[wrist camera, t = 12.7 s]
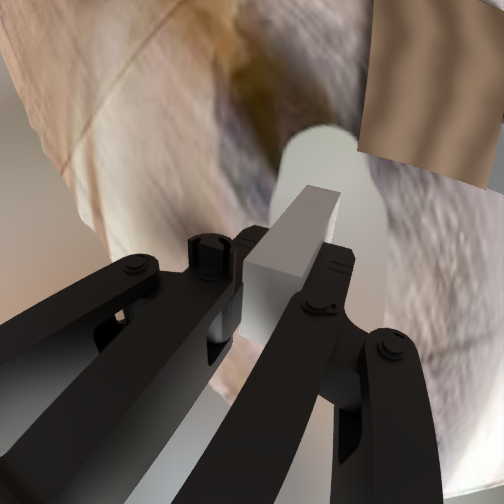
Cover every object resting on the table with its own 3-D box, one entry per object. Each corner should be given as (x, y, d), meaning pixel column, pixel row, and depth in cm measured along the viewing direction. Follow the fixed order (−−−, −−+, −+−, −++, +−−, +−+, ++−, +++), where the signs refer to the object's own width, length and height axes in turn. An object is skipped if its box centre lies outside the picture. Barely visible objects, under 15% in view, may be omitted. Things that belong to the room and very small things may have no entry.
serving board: (358, 148, 33) (357, 151, 32) (375, -23, 22) (374, -29, 20) (481, 185, 28) (485, 190, 27) (504, 17, 17) (509, 13, 15)
